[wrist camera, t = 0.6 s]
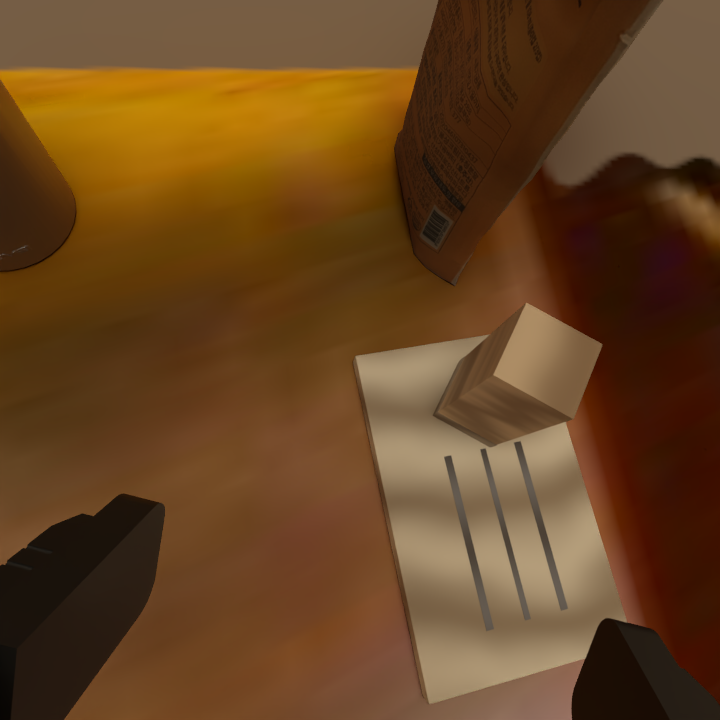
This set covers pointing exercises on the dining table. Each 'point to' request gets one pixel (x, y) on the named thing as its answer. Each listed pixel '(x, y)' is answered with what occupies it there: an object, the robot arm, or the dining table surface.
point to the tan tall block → (519, 379)
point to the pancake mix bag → (498, 108)
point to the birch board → (481, 532)
